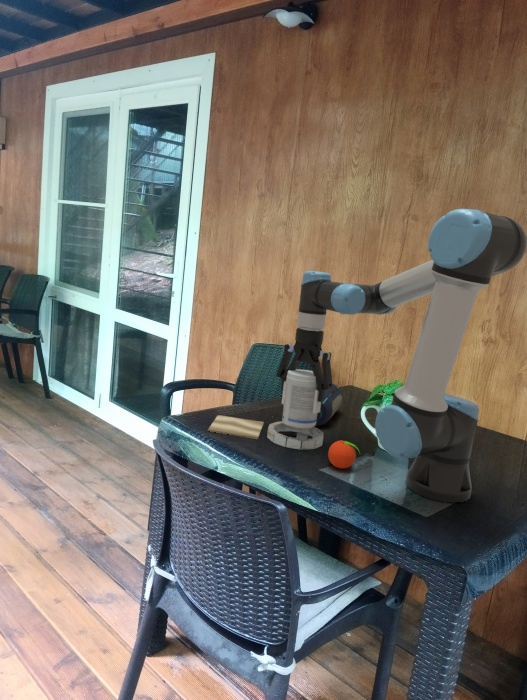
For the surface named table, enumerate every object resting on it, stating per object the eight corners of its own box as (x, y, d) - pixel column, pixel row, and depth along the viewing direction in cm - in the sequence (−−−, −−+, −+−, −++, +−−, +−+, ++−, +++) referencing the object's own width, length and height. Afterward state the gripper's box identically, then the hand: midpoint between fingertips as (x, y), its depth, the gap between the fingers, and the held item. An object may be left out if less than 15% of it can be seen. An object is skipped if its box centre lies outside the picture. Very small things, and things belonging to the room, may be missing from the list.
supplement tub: (322, 427, 159) (329, 376, 156) (297, 431, 153) (304, 378, 150) (299, 417, 166) (305, 368, 164) (274, 420, 160) (280, 369, 158)
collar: (321, 453, 152) (323, 439, 151) (264, 444, 153) (266, 430, 153) (322, 434, 168) (324, 421, 167) (270, 425, 170) (272, 413, 169)
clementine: (360, 467, 146) (364, 440, 145) (355, 476, 140) (359, 448, 138) (329, 459, 148) (333, 433, 147) (323, 468, 142) (327, 441, 141)
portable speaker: (326, 432, 171) (331, 400, 169) (294, 425, 174) (299, 393, 172) (342, 412, 194) (347, 383, 192) (314, 406, 197) (318, 378, 195)
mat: (257, 439, 157) (257, 437, 157) (207, 431, 158) (208, 429, 158) (263, 424, 171) (263, 422, 170) (217, 416, 172) (217, 415, 172)
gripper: (353, 334, 152) (341, 415, 155) (284, 321, 164) (275, 396, 168) (339, 336, 146) (328, 420, 149) (269, 322, 158) (260, 400, 162)
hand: (300, 407), depth 159 cm, fingers closed on supplement tub, 9 cm apart
